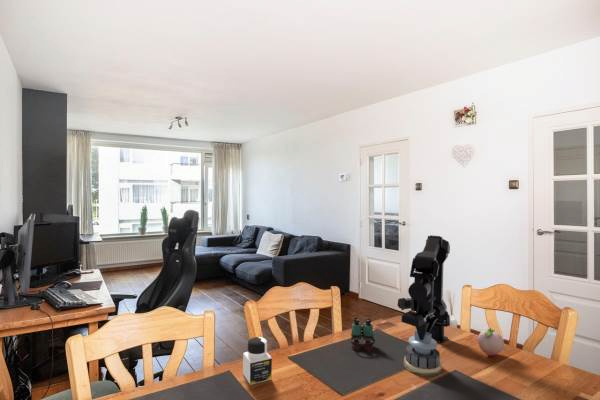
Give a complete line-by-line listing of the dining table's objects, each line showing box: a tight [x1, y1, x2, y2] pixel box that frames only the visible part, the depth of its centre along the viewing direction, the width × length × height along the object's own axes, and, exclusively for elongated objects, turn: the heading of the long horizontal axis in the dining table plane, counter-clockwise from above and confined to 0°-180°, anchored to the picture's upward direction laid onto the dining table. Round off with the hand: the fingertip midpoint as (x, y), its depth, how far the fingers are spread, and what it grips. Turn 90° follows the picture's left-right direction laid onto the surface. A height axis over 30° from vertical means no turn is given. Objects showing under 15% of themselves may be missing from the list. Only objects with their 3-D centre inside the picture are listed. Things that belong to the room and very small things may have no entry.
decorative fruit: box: [477, 327, 505, 356], centre depth 128 cm, size 9×8×10 cm
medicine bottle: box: [242, 336, 273, 386], centre depth 111 cm, size 7×7×12 cm
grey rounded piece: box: [408, 329, 438, 356], centre depth 118 cm, size 9×9×7 cm
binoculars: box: [350, 317, 376, 352], centre depth 132 cm, size 9×11×10 cm
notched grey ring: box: [403, 344, 442, 377], centre depth 118 cm, size 12×12×6 cm
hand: (423, 338), depth 118 cm, fingers closed on grey rounded piece
